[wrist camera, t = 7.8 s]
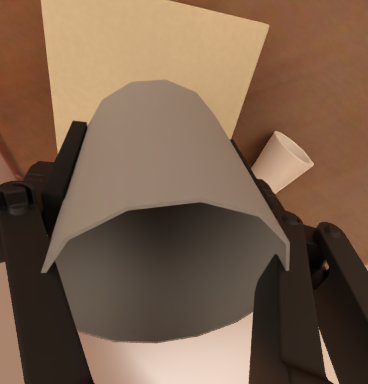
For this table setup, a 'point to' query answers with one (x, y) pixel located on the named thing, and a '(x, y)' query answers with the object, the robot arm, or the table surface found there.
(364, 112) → the table surface
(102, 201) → the cup
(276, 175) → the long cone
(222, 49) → the side table
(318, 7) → the table surface
